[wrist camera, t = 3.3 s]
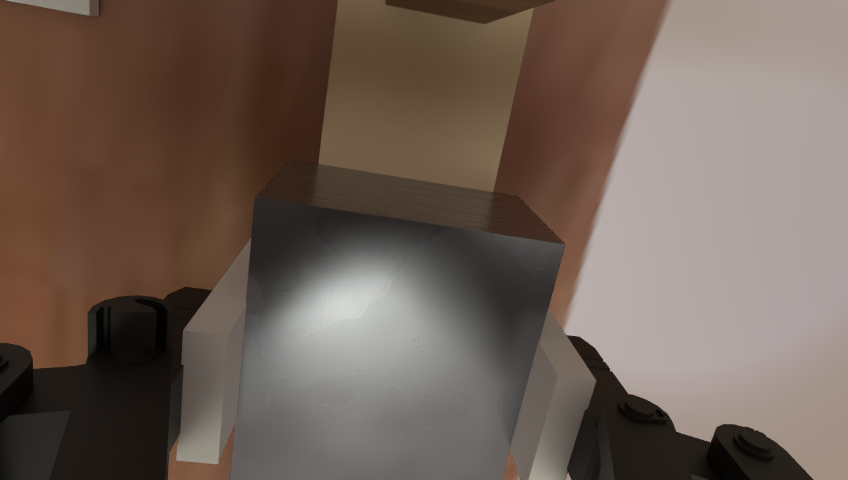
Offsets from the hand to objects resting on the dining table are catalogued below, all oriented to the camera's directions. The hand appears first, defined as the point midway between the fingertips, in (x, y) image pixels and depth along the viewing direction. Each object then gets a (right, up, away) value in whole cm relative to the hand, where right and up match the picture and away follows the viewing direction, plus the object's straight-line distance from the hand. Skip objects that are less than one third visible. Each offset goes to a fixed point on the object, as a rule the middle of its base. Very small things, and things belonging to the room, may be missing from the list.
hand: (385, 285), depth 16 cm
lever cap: (0, 0, -1) cm, 1 cm away
